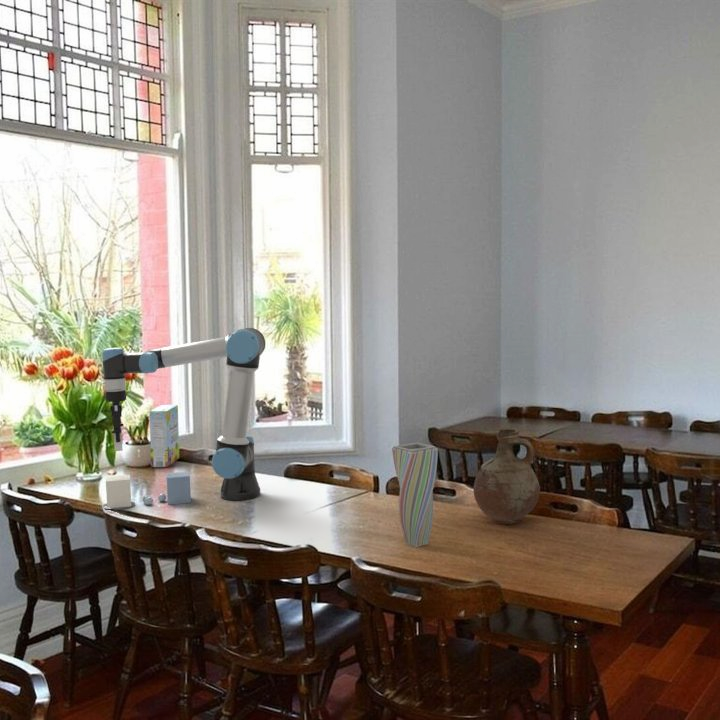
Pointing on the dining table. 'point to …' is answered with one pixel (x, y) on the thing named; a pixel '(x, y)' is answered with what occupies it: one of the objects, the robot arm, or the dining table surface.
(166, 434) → the snack box
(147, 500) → the marble
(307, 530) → the dining table surface
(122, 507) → the coaster
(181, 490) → the pale blue cube
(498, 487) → the jug
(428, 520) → the vase
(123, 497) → the cream upright block
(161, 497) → the marble
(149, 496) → the marble
